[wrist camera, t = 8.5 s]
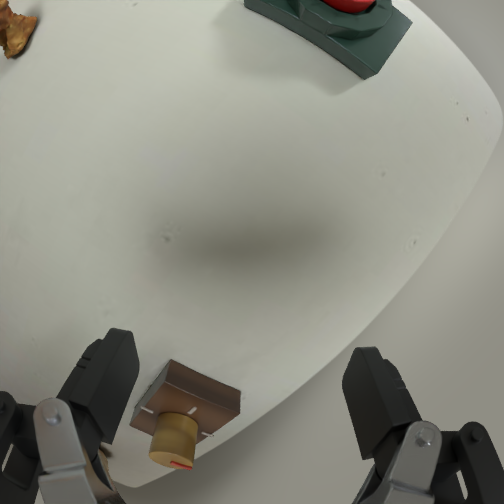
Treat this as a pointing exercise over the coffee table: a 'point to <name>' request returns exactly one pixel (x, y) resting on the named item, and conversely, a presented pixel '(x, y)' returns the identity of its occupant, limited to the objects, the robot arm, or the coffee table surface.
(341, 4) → the button
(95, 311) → the coffee table surface
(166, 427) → the dimmer knob
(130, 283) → the coffee table surface
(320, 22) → the switch box
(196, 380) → the dimmer panel
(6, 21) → the figurine
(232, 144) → the coffee table surface
